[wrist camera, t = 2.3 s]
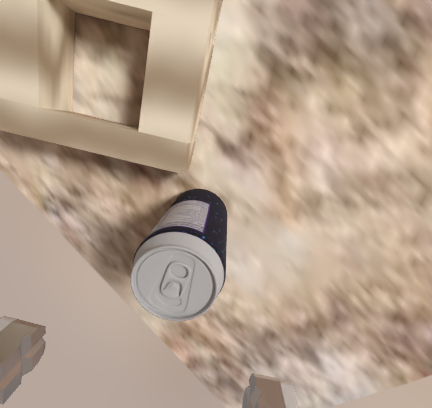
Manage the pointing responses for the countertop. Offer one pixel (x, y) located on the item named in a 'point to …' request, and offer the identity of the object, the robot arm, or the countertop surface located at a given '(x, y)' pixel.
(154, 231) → the beverage can
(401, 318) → the countertop surface
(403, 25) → the countertop surface
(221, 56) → the countertop surface
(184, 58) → the socket board
